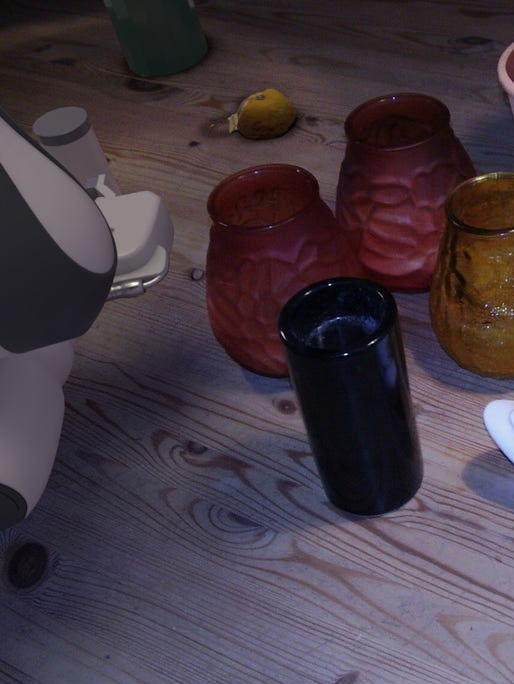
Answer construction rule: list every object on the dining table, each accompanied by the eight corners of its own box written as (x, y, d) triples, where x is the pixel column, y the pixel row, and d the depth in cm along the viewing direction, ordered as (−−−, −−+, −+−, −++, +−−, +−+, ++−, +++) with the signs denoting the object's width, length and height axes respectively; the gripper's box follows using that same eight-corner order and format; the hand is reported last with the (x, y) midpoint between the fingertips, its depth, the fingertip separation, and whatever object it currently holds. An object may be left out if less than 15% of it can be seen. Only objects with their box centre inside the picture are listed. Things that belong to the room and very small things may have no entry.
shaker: (78, 244, 89) (25, 138, 81) (90, 213, 92) (40, 109, 85) (127, 239, 89) (79, 133, 81) (137, 208, 92) (92, 103, 84)
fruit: (259, 96, 104) (249, 64, 102) (318, 114, 100) (310, 82, 98) (202, 137, 100) (191, 104, 97) (262, 158, 96) (252, 125, 93)
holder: (122, 85, 109) (87, -3, 102) (139, 45, 115) (107, -40, 108) (201, 76, 108) (172, -13, 101) (214, 37, 115) (187, -49, 108)
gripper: (150, 249, 62) (162, 132, 72) (-183, 313, 61) (-124, 186, 71) (182, 323, 66) (190, 203, 76) (-127, 384, 66) (-79, 255, 75)
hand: (36, 195), depth 74 cm, fingers open, 8 cm apart
